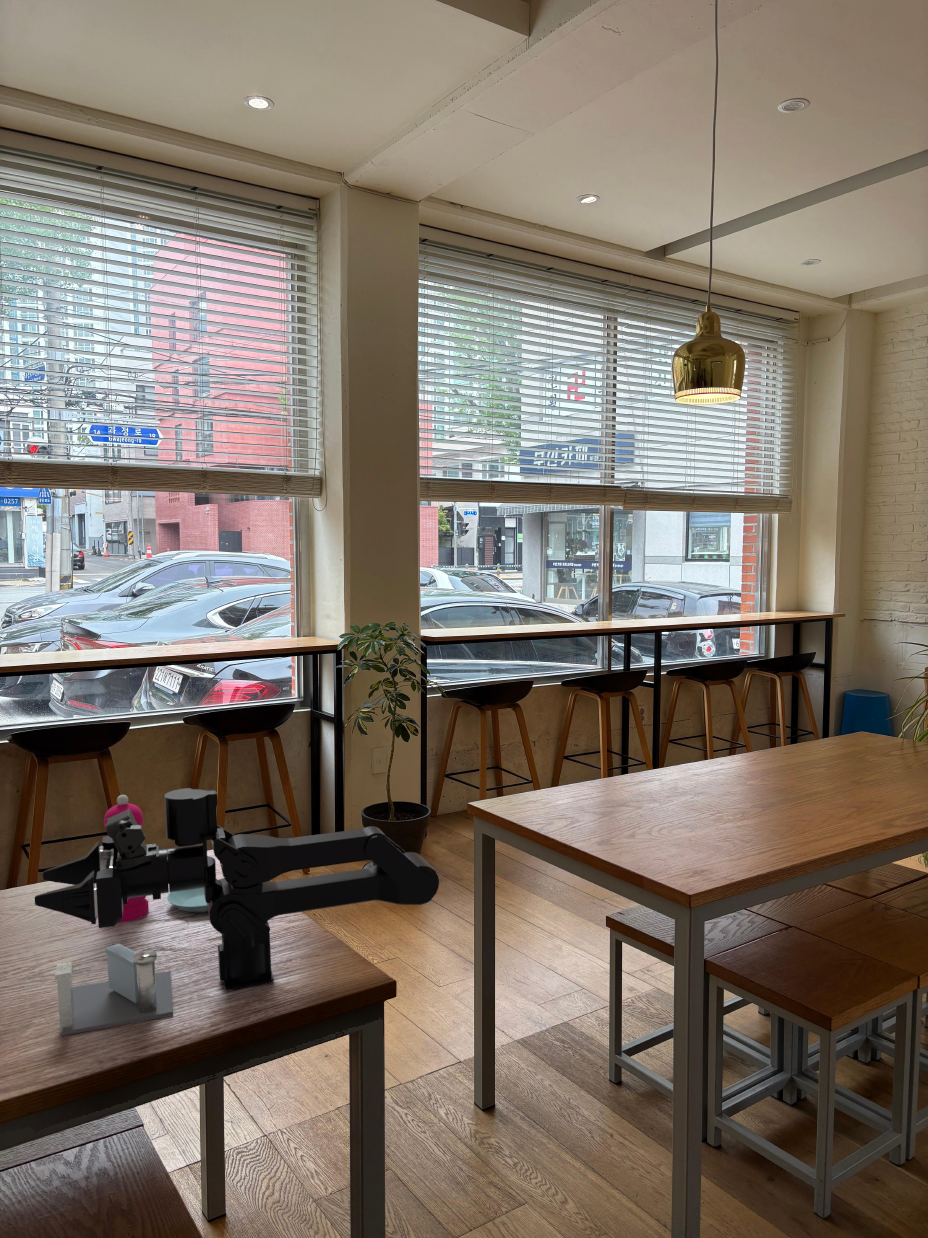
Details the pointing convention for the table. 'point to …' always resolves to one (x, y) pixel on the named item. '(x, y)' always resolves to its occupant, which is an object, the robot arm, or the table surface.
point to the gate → (122, 971)
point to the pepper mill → (135, 905)
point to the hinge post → (146, 980)
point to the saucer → (189, 900)
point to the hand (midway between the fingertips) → (39, 887)
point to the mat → (115, 1006)
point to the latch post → (65, 994)
